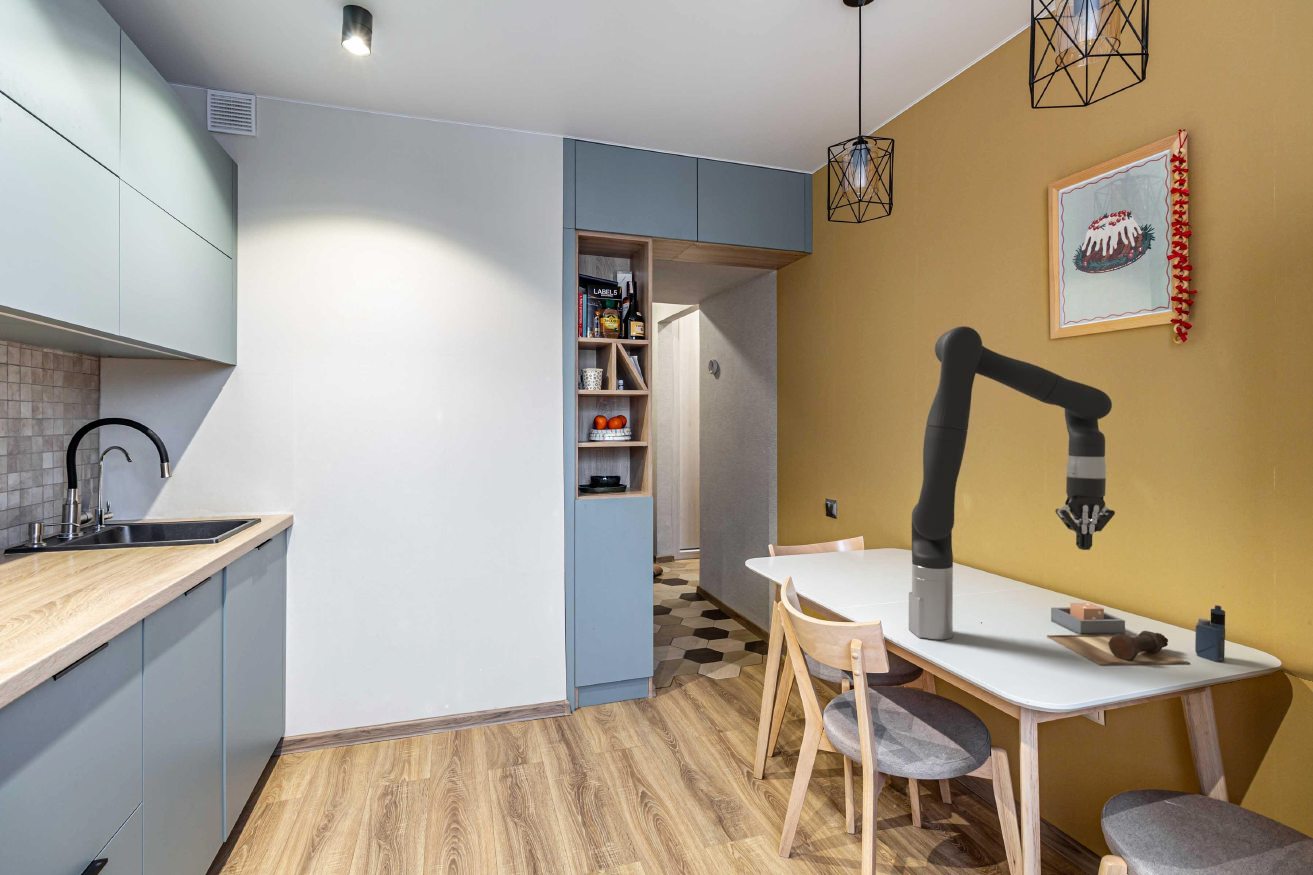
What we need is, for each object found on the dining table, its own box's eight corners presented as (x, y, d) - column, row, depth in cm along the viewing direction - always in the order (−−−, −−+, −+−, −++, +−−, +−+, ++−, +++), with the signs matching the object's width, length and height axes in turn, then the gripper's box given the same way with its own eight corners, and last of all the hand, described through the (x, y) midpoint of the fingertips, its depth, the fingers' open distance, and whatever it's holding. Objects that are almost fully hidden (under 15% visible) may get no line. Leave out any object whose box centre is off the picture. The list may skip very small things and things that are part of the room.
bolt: (1164, 657, 141) (1124, 665, 135) (1143, 640, 145) (1103, 647, 139) (1180, 639, 138) (1140, 647, 132) (1158, 622, 142) (1118, 629, 136)
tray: (1080, 635, 151) (1080, 621, 151) (1051, 620, 162) (1051, 607, 162) (1124, 634, 151) (1124, 620, 151) (1092, 620, 162) (1092, 607, 162)
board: (1100, 665, 133) (1100, 663, 133) (1047, 636, 150) (1047, 635, 150) (1189, 663, 133) (1189, 662, 133) (1126, 635, 151) (1126, 634, 151)
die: (1083, 628, 154) (1084, 608, 154) (1070, 622, 159) (1070, 602, 159) (1103, 628, 154) (1104, 608, 154) (1089, 621, 159) (1089, 602, 159)
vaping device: (1219, 663, 133) (1220, 608, 133) (1192, 654, 138) (1193, 601, 138) (1227, 661, 134) (1228, 607, 134) (1200, 653, 139) (1201, 600, 139)
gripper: (1068, 476, 140) (1066, 552, 141) (1126, 477, 140) (1124, 552, 141) (1047, 473, 148) (1045, 545, 148) (1102, 474, 148) (1100, 546, 148)
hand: (1084, 549), depth 145 cm, fingers closed
